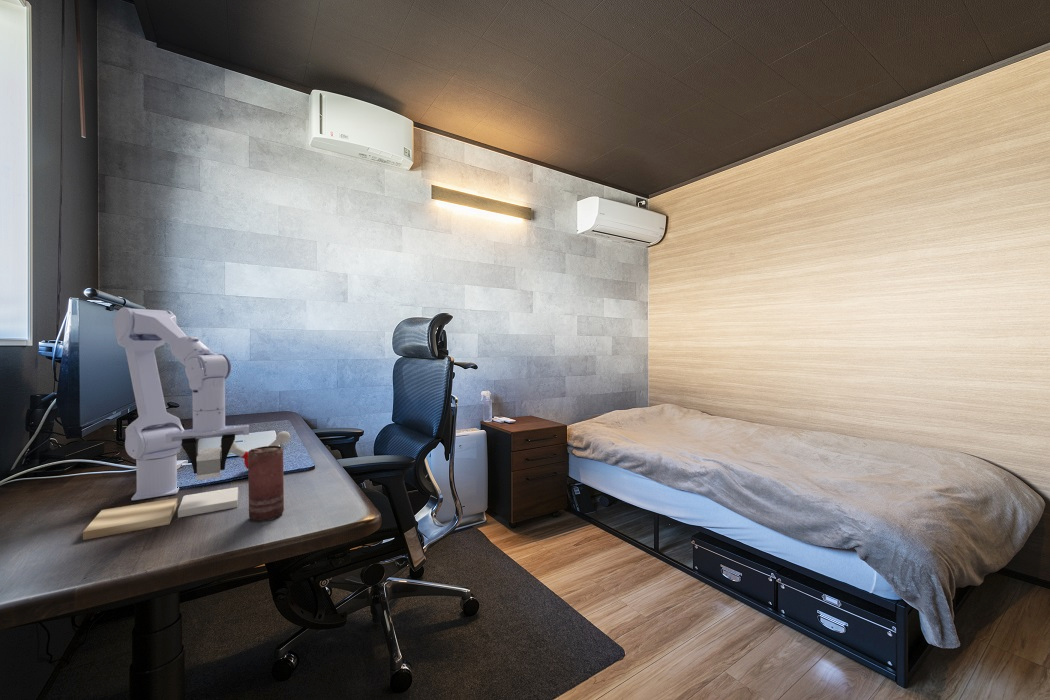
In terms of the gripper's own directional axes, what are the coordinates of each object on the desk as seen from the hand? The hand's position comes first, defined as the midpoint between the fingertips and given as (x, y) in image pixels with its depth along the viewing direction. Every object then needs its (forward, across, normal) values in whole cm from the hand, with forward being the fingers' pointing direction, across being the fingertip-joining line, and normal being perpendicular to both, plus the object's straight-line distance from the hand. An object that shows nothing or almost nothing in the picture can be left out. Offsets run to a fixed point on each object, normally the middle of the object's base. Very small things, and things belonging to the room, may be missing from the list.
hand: (209, 470), depth 92 cm
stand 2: (+8, 0, 0) cm, 8 cm away
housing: (+1, 0, 0) cm, 1 cm away
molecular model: (+8, +9, +24) cm, 27 cm away
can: (+8, +10, -14) cm, 19 cm away
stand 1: (+8, -12, -2) cm, 14 cm away
